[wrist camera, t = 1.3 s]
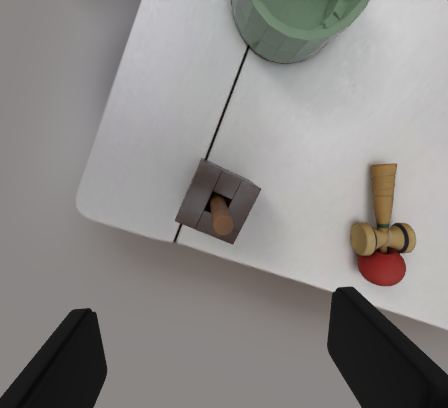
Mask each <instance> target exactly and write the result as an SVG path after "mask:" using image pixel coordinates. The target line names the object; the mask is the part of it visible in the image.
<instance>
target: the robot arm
mask: <svg viewBox="0 0 448 408" xmlns="http://www.w3.org/2000/svg"><path fill="white" fill-rule="evenodd" d="M327 347H328V351H329V354H330V356H331V358H332V359H333V361H334V363H335V364H336V366H337V368H338V369H339V371H340V372H341V374H342V376H343V378H344V379H345V381H346V382H347V384H348V386H349V387H350V389H351V391H352V392H353V394H354V395H355V397H356V399H357V400H358V402H359V404H360V405H361V407H362V408H448V375H447V374H446V373H445V372H444V371H443V370H442V369H441V368H440V367H439V366H438V365H437V364H435V362H433V361H432V360H431V359H430V358H429V357H428V356H427V355H426V354H425V353H424V352H423V351H422V350H420V349H419V348H418V347H417V346H416V345H415V344H414V343H413V342H412V341H411V340H410V339H409V338H407V336H405V335H404V334H403V333H402V332H401V331H400V330H399V329H398V328H397V327H396V326H395V325H394V324H392V323H391V322H390V321H389V320H388V319H387V318H386V317H385V316H384V315H383V314H382V313H381V312H379V310H377V309H376V308H375V307H374V306H373V305H372V304H371V303H370V302H369V301H368V300H367V299H366V298H365V297H363V296H362V295H361V294H360V293H359V292H358V291H357V290H356V289H355V288H353V287H339V288H337V289H336V291H335V292H333V294H332V302H331V312H330V323H329V332H328V342H327ZM106 375H107V365H106V360H105V355H104V349H103V344H102V339H101V334H100V329H99V324H98V319H97V314H96V313H95V312H92V310H91V309H90V308H87V309H74V310H72V311H71V312H70V313H69V314H68V315H67V317H66V318H65V319H64V320H63V321H62V323H61V324H60V325H59V327H58V328H57V329H56V330H55V331H54V332H53V334H52V335H51V336H50V337H49V339H48V340H47V341H46V343H45V344H44V345H43V346H42V347H41V349H40V350H39V351H38V352H37V354H36V355H35V356H34V358H32V360H31V361H30V362H29V363H28V365H27V366H26V367H25V368H24V370H23V371H22V372H21V373H20V374H19V376H18V377H17V378H16V379H15V381H14V382H13V383H12V384H11V386H10V387H9V388H8V389H7V390H6V392H5V393H4V394H3V395H2V397H1V398H0V408H93V407H94V405H95V403H96V400H97V398H98V396H99V393H100V391H101V388H102V386H103V384H104V381H105V379H106Z"/></svg>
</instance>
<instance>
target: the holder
mask: <svg viewBox="0 0 448 408" xmlns="http://www.w3.org/2000/svg"><path fill="white" fill-rule="evenodd" d="M213 191H214V192H216V193H218V194H220V195H223V197H224V200H225V202H226V205H227V207H228V209H229V212H230V214H231V217H232V219H233V222H234V228H233V230H232V232H231V233H229V234H227V235H219V234H217V233H216V232H215V231H214V229H213V225H212V217H211V208H210V200H209V198H210V196H211V194H212V192H213ZM260 191H261V188H259V187H258V186H256V185H255V184H254V183H252V182H251V181H249V180H247V179H245V178H243V177H241V176H239V175H237V174H235V173H233V172H230V171H228V170H226V169H224V168H222V167H220V166H218V165H216V164H213V163H211V162H209V161H207V160H205V159H203V158H202V159H201V161H200V163H199V166H198V168H197V170H196V172H195V175H194V177H193V179H192V181H191V184H190V186H189V188H188V190H187V193H186V195H185V197H184V199H183V202H182V204H181V206H180V209H179V212H178V214H177V217H176V219H175V221H176V222H179V223H181V224H184V225H186V226H189V227H191V228H194V229H196V230H198V231H201V232H203V233H206V234H208V235H211V236H213V237H216V238H218V239H220V240H223V241H225V242H228V243H230V244H234V242H235V240H236V238H237V236H238V234H239V232H240V230H241V228H242V226H243V224H244V222H245V220H246V218H247V216H248V214H249V212H250V210H251V208H252V206H253V204H254V202H255V200H256V198H257V197H258V195H259V193H260Z"/></svg>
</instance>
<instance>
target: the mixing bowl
mask: <svg viewBox="0 0 448 408" xmlns="http://www.w3.org/2000/svg"><path fill="white" fill-rule="evenodd" d="M368 2H369V0H231V3H232V9H233V16H234V20H235V22H236V24H237V27H238V29H239V31H240V33H241V36H242V38H243V39H244V40H245V41H246V42H247V44H248V45H249V46H250V47H251V48H252V49H253V51H255V52H256V53H257V54H259V55H261V56H262V57H264V58H266V59H268V60H269V61H275V62H280V63H286V64H287V63H293V62H298V61H303V60H305V59H306V58H308V57H310V56H312V55H313V54H315V53H317V52H318V51H320V50H321V49H322V48H323V47H324V46H325V45H327V44H328V43H329V42H330V41H331V40H333V39H334V38H335V37H336V36H337V35H339V34H340V33H341V32H342V31H343V30H345V29H346V28H347V27H348V26H349V25H350V24H351V23H352V22H353V21H354V20H355V19H356V18H357V17H358V16H359V15H360V13H361V12H362V11H363V10H364V9H365V8H366V6H367V4H368Z"/></svg>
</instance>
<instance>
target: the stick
mask: <svg viewBox="0 0 448 408" xmlns="http://www.w3.org/2000/svg"><path fill="white" fill-rule="evenodd" d="M209 200H210V208H211V217H212V225H213V229H214V231H215V232H216V233H217V234H219V235H227V234H229V233H231V232H232V230H233V228H234V222H233V219H232V217H231V214H230V212H229V209H228V207H227V205H226V202H225V200H224V197H223V195H220V194H218V193H216V192H214V191H213V192H212V194H211V196H210V198H209Z"/></svg>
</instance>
